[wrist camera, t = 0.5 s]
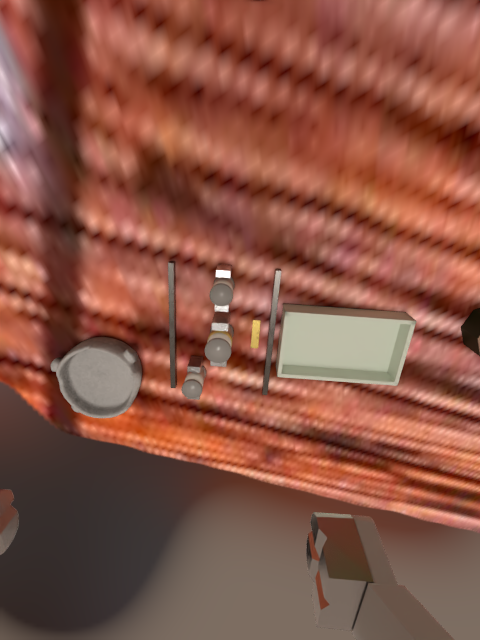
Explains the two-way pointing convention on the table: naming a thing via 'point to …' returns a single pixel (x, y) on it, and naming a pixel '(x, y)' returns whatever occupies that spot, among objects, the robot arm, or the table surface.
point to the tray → (343, 344)
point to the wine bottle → (472, 331)
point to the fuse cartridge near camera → (194, 383)
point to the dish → (99, 377)
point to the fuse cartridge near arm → (222, 291)
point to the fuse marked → (219, 345)
